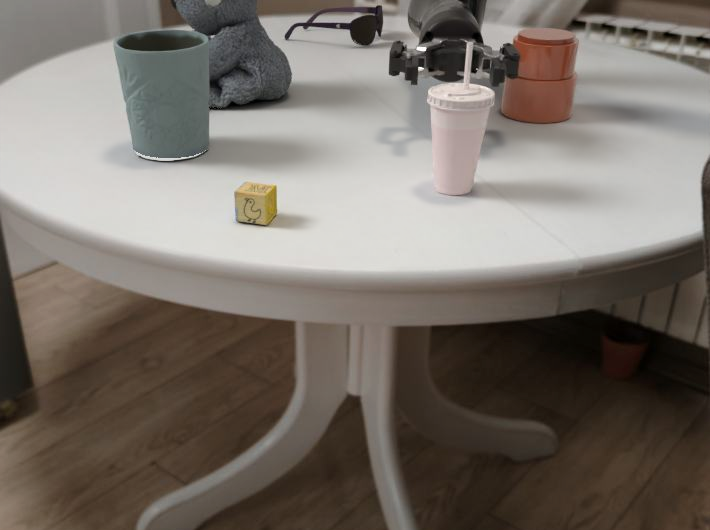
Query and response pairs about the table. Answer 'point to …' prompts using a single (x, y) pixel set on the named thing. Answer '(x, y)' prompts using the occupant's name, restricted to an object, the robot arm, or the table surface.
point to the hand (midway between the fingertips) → (455, 76)
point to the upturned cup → (542, 77)
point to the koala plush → (237, 51)
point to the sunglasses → (351, 24)
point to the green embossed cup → (165, 90)
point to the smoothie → (458, 130)
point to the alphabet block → (255, 203)
